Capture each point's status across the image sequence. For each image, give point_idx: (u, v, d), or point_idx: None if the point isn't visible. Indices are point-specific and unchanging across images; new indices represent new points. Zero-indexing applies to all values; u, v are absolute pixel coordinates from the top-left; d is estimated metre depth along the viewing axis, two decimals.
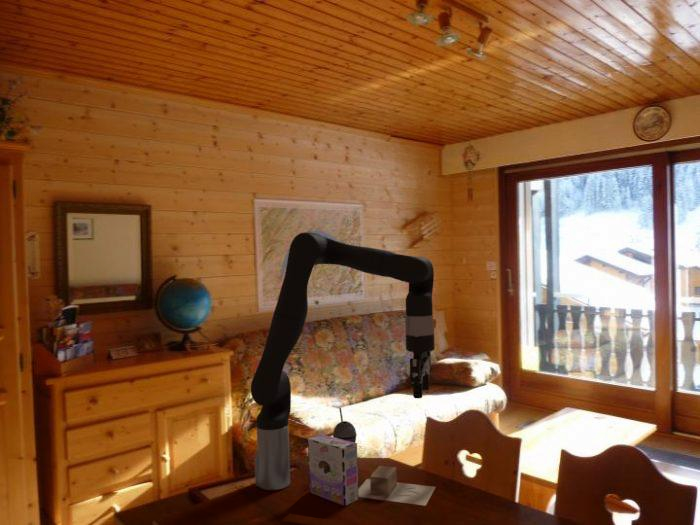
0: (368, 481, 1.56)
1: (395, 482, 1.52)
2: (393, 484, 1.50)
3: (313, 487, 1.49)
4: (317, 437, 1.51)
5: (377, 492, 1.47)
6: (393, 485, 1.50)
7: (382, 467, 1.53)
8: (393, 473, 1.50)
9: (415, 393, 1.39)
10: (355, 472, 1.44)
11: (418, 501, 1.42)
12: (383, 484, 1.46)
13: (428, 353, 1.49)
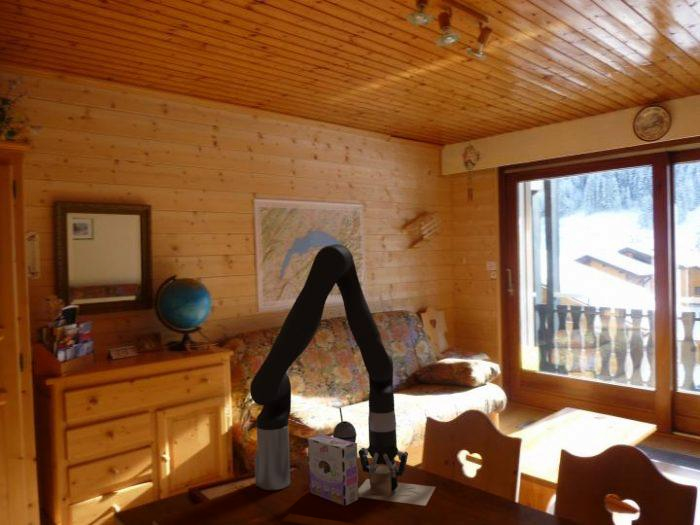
0: (368, 481, 1.56)
1: None
2: None
3: (313, 487, 1.49)
4: (317, 437, 1.51)
5: (377, 492, 1.47)
6: None
7: (382, 467, 1.53)
8: None
9: (396, 485, 1.49)
10: (355, 472, 1.44)
11: (418, 501, 1.42)
12: (383, 484, 1.46)
13: None
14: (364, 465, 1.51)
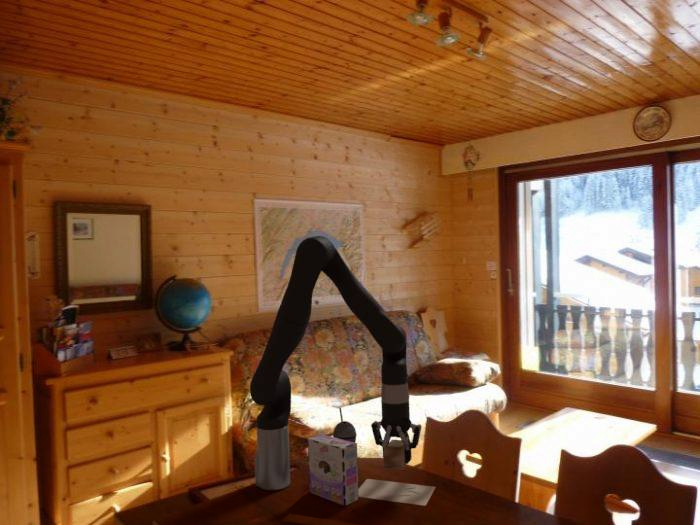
0: (368, 481, 1.56)
1: None
2: None
3: (313, 487, 1.49)
4: (317, 437, 1.51)
5: (390, 465, 1.45)
6: None
7: (395, 441, 1.52)
8: None
9: (410, 458, 1.47)
10: (355, 472, 1.44)
11: (418, 501, 1.42)
12: (396, 456, 1.44)
13: None
14: (377, 438, 1.49)
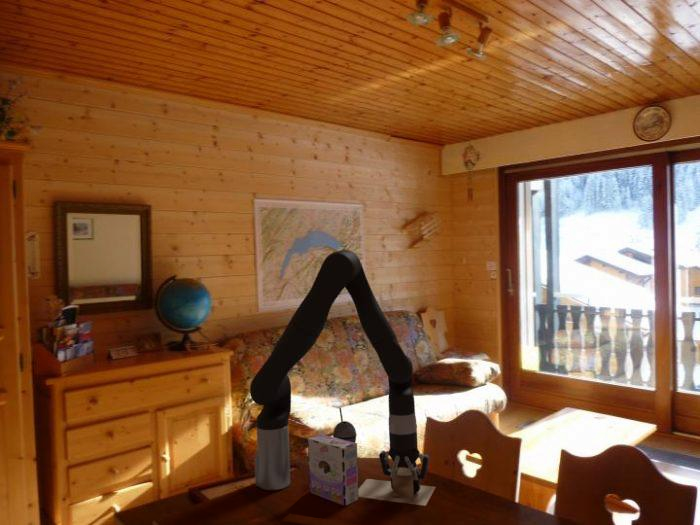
0: (368, 481, 1.56)
1: None
2: None
3: (313, 487, 1.49)
4: (317, 437, 1.51)
5: (399, 495, 1.45)
6: None
7: (403, 469, 1.51)
8: None
9: (419, 488, 1.46)
10: (355, 472, 1.44)
11: (418, 501, 1.42)
12: (405, 487, 1.44)
13: None
14: (385, 468, 1.49)
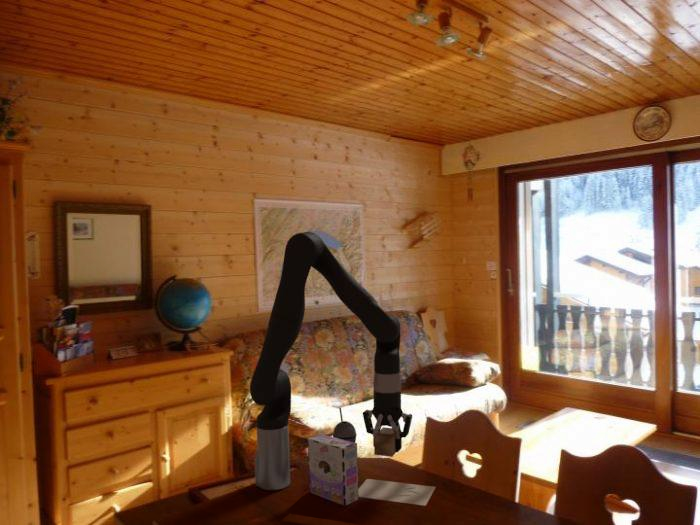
0: (368, 481, 1.56)
1: None
2: None
3: (313, 487, 1.49)
4: (317, 437, 1.51)
5: (381, 452, 1.46)
6: None
7: (386, 428, 1.53)
8: None
9: None
10: (355, 472, 1.44)
11: (418, 501, 1.42)
12: (387, 444, 1.46)
13: None
14: (368, 427, 1.50)
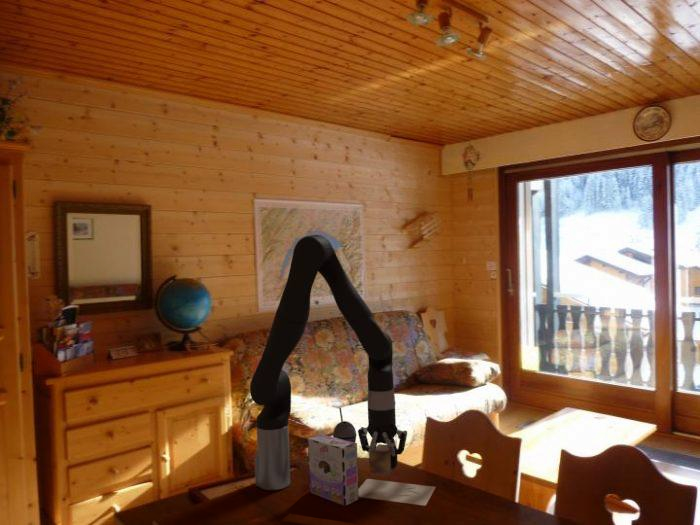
0: (368, 481, 1.56)
1: None
2: None
3: (313, 487, 1.49)
4: (317, 437, 1.51)
5: (376, 469, 1.46)
6: None
7: (381, 445, 1.53)
8: None
9: (396, 464, 1.48)
10: (355, 472, 1.44)
11: (418, 501, 1.42)
12: (382, 461, 1.46)
13: None
14: (363, 444, 1.51)
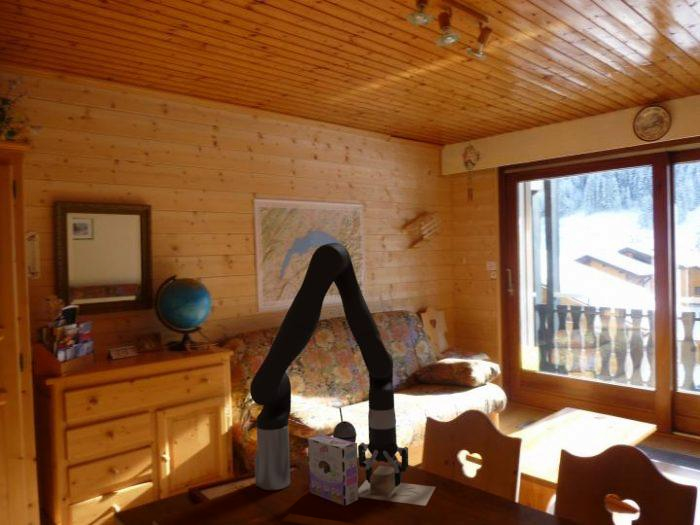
0: None
1: None
2: (393, 484, 1.50)
3: (313, 487, 1.49)
4: (317, 437, 1.51)
5: (377, 492, 1.47)
6: (393, 485, 1.50)
7: (382, 467, 1.53)
8: (393, 473, 1.50)
9: (400, 481, 1.48)
10: (355, 472, 1.44)
11: (418, 501, 1.42)
12: (383, 484, 1.46)
13: None
14: (361, 460, 1.51)
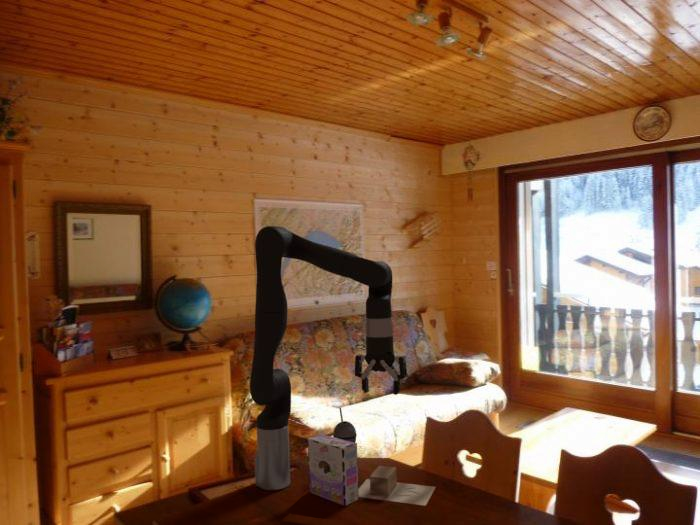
0: (368, 481, 1.56)
1: (395, 482, 1.52)
2: (393, 484, 1.50)
3: (313, 487, 1.49)
4: (317, 437, 1.51)
5: (377, 492, 1.47)
6: (393, 485, 1.50)
7: (382, 467, 1.53)
8: (393, 473, 1.50)
9: (399, 389, 1.48)
10: (355, 472, 1.44)
11: (418, 501, 1.42)
12: (383, 484, 1.46)
13: None
14: (357, 370, 1.51)
